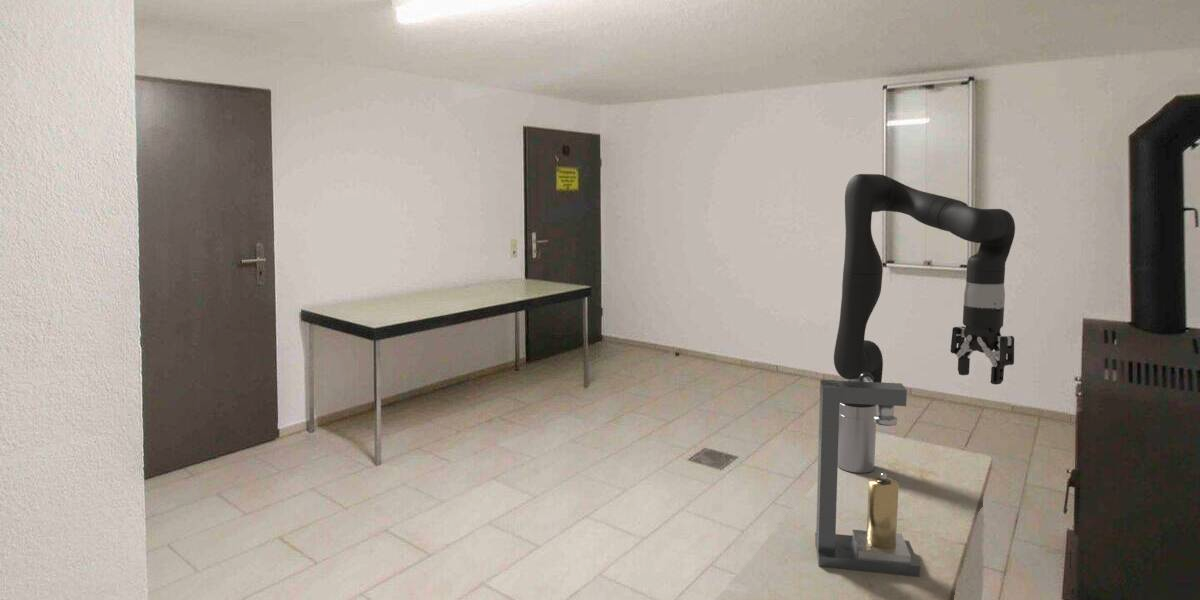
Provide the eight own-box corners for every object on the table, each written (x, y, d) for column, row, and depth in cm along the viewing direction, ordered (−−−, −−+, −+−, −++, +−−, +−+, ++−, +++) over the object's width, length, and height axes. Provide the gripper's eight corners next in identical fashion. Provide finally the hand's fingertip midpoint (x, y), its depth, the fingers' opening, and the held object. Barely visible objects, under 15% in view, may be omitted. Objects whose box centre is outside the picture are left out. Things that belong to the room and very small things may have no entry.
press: (900, 532, 142) (907, 371, 138) (919, 576, 125) (928, 394, 121) (812, 524, 146) (816, 368, 142) (818, 566, 129) (823, 389, 125)
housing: (860, 538, 132) (863, 470, 131) (883, 534, 134) (886, 467, 132) (878, 550, 127) (881, 480, 126) (902, 546, 129) (905, 477, 127)
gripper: (943, 301, 150) (940, 373, 152) (997, 309, 137) (993, 388, 139) (971, 299, 153) (967, 370, 155) (1027, 307, 139) (1022, 385, 141)
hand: (979, 379), depth 147 cm, fingers open, 8 cm apart
